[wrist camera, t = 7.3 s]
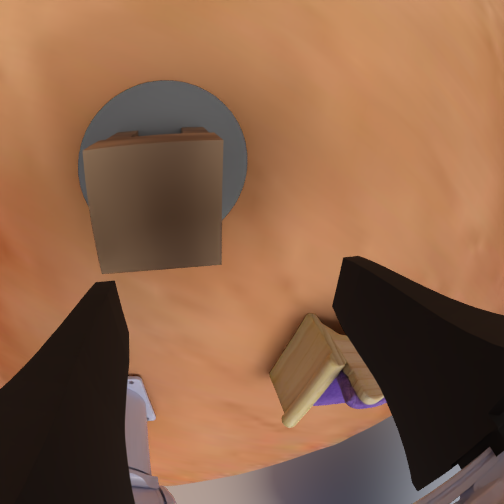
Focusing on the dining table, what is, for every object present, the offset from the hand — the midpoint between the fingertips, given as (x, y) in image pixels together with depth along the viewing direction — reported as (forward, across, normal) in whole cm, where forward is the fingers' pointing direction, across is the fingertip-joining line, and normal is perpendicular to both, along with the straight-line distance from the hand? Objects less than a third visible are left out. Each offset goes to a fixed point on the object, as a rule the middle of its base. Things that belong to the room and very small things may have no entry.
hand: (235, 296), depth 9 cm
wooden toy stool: (+10, +2, -2) cm, 10 cm away
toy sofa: (+11, -16, +18) cm, 27 cm away
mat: (+10, +2, -2) cm, 11 cm away
